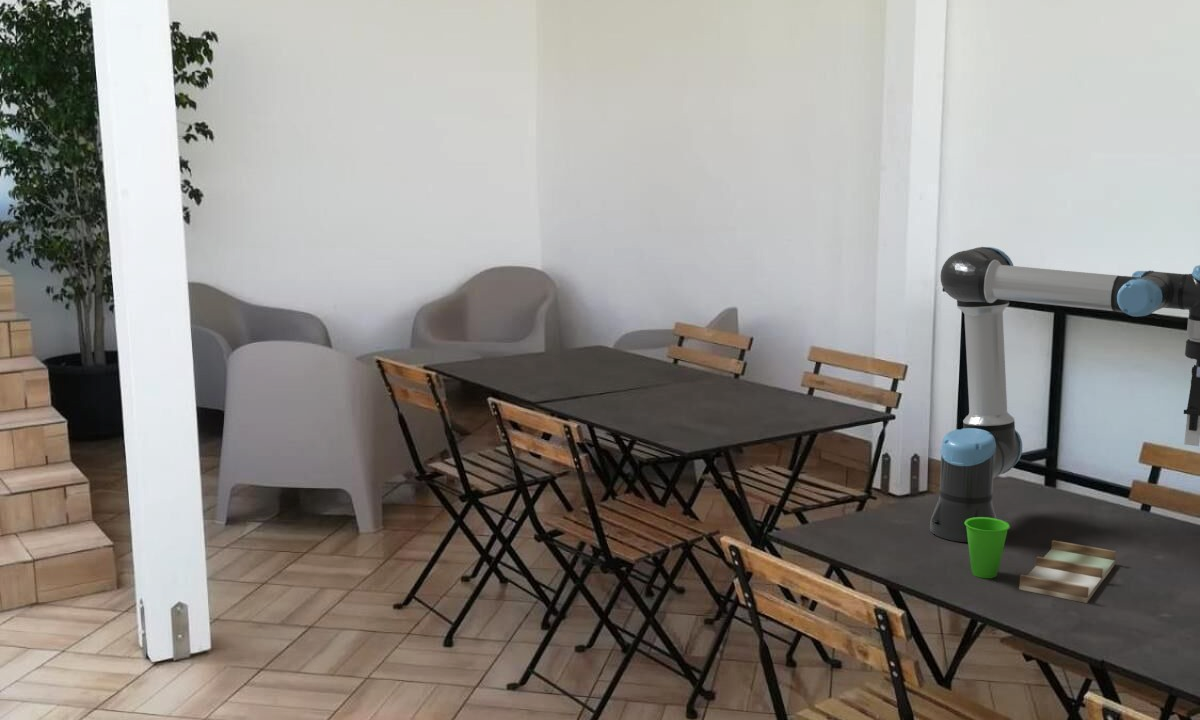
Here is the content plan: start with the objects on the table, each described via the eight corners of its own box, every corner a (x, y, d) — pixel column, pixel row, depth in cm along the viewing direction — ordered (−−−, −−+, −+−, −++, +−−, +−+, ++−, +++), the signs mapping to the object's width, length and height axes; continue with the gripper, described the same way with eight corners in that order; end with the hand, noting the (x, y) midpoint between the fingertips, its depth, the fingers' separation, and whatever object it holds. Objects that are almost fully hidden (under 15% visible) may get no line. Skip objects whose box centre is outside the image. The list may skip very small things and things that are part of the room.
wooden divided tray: (1019, 589, 244) (1020, 575, 243) (1051, 553, 264) (1052, 540, 264) (1086, 602, 236) (1087, 588, 236) (1114, 564, 257) (1115, 551, 257)
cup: (1001, 566, 256) (1004, 517, 254) (1011, 582, 247) (1014, 531, 245) (958, 565, 257) (960, 516, 255) (966, 581, 248) (969, 530, 246)
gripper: (1218, 350, 240) (1208, 453, 244) (1233, 333, 260) (1223, 428, 265) (1177, 346, 244) (1167, 448, 248) (1194, 329, 264) (1185, 423, 269)
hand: (1196, 438), depth 256 cm, fingers open, 13 cm apart
